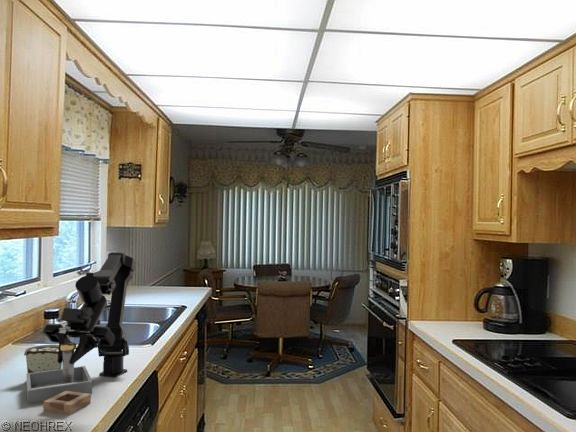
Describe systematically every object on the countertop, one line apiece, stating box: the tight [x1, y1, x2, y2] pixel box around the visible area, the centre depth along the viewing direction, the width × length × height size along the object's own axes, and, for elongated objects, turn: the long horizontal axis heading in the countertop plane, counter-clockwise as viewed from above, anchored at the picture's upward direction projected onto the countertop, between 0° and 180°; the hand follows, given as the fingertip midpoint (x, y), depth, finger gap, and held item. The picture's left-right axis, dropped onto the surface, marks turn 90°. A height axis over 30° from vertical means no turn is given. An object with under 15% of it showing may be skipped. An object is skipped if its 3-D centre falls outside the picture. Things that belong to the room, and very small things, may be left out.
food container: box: [23, 344, 62, 374], centre depth 151 cm, size 12×6×10 cm, turn 92°
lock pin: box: [61, 342, 78, 384], centre depth 124 cm, size 4×4×10 cm
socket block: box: [42, 391, 92, 416], centre depth 124 cm, size 8×8×4 cm
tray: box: [25, 365, 93, 405], centre depth 137 cm, size 16×16×5 cm
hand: (64, 363), depth 123 cm, fingers closed on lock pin, 3 cm apart
